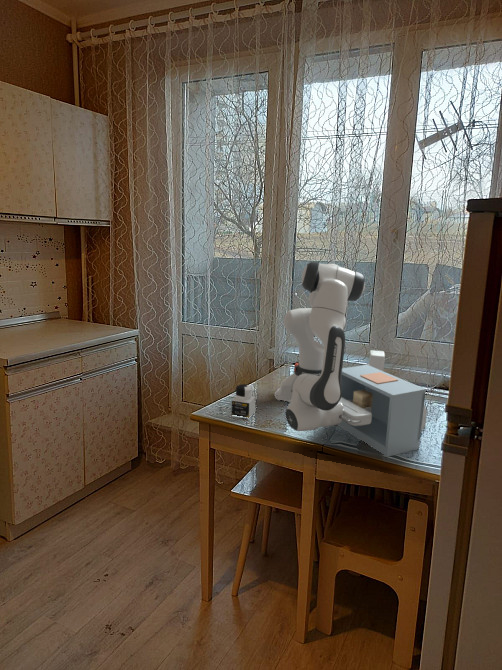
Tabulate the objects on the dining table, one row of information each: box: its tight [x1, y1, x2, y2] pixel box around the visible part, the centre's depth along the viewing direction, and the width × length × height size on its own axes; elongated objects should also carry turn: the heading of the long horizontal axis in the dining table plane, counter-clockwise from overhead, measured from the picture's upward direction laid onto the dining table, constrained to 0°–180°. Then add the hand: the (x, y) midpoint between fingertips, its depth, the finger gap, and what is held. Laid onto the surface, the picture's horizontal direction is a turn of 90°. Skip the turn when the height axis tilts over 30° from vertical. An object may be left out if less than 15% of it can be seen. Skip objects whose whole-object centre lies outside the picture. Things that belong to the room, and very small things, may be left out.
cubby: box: [337, 364, 427, 458], centre depth 167 cm, size 14×29×22 cm, turn 27°
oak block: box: [353, 390, 373, 426], centre depth 164 cm, size 4×4×11 cm
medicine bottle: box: [231, 383, 256, 418], centre depth 183 cm, size 7×7×12 cm
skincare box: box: [368, 349, 386, 372], centre depth 221 cm, size 8×7×16 cm
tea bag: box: [421, 404, 428, 432], centre depth 175 cm, size 4×7×10 cm, turn 147°
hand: (364, 405), depth 164 cm, fingers closed on oak block, 4 cm apart
